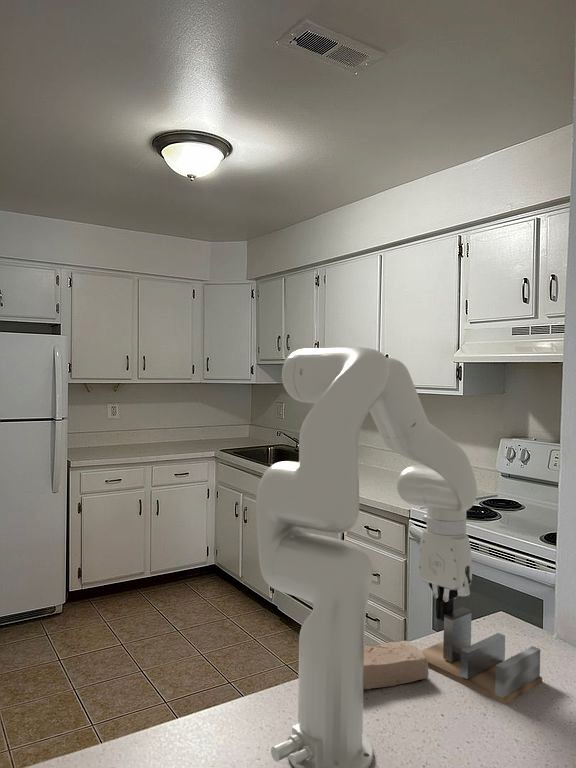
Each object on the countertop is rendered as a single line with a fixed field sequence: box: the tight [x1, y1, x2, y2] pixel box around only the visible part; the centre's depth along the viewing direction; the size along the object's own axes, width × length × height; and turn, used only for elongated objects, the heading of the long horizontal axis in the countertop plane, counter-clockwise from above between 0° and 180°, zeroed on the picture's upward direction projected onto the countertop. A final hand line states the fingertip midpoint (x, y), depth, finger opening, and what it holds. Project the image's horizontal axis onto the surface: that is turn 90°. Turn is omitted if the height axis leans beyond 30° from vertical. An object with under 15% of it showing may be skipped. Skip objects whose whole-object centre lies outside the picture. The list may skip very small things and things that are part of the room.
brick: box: [363, 640, 430, 691], centre depth 109 cm, size 17×8×5 cm, turn 107°
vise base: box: [421, 640, 543, 706], centre depth 112 cm, size 12×20×6 cm, turn 39°
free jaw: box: [443, 606, 506, 679], centre depth 113 cm, size 12×8×8 cm, turn 129°
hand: (444, 618), depth 118 cm, fingers closed
